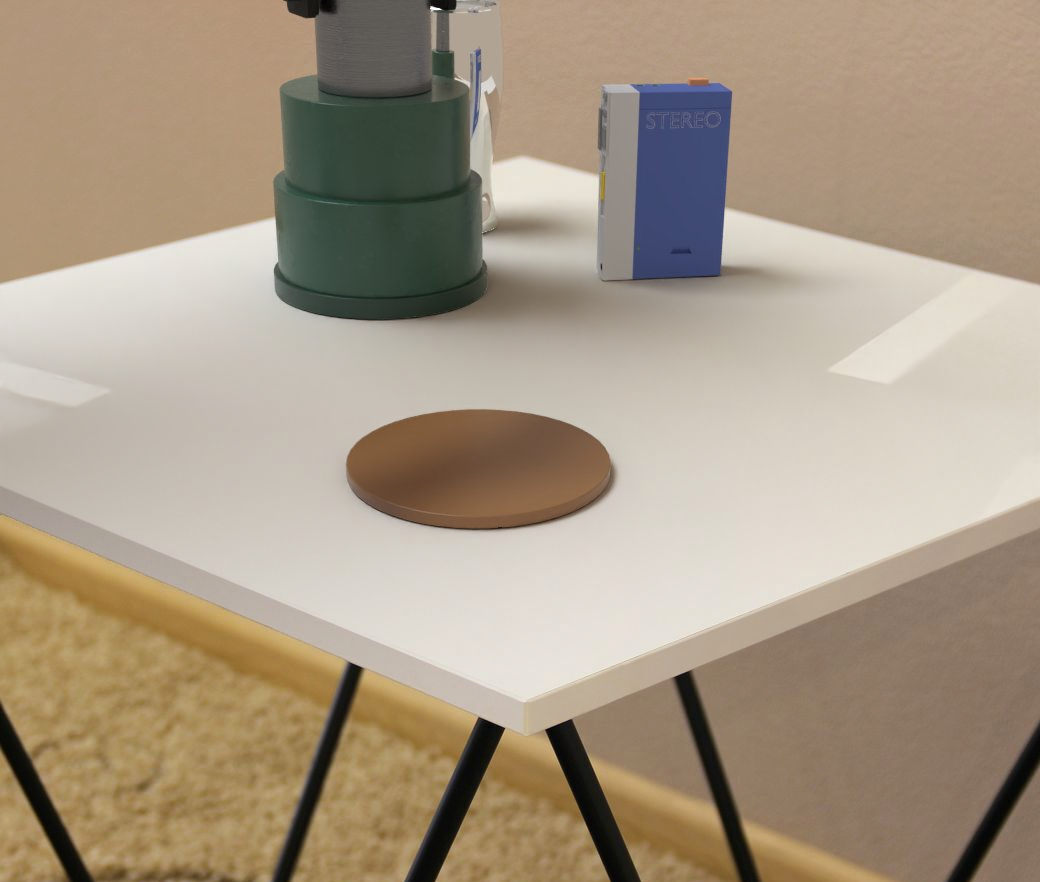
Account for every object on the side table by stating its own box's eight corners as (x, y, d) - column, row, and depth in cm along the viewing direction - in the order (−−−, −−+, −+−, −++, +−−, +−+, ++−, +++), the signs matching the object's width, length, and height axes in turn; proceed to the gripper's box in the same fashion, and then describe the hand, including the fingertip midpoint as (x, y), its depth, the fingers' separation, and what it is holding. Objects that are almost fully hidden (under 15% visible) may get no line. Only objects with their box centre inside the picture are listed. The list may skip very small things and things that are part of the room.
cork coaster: (291, 487, 67) (290, 475, 67) (443, 402, 77) (443, 391, 77) (523, 554, 62) (523, 541, 62) (655, 453, 72) (656, 442, 72)
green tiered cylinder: (229, 294, 92) (213, 91, 86) (360, 244, 102) (353, 60, 97) (407, 334, 86) (401, 119, 81) (526, 276, 96) (528, 83, 91)
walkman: (708, 263, 100) (719, 76, 95) (720, 276, 98) (733, 85, 92) (591, 268, 98) (596, 78, 93) (600, 280, 96) (606, 86, 91)
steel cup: (294, 89, 88) (285, -78, 84) (363, 73, 93) (357, -85, 89) (388, 102, 85) (382, -69, 81) (454, 85, 90) (452, -77, 86)
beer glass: (448, 207, 111) (445, -8, 105) (523, 224, 108) (525, 2, 101) (383, 226, 106) (376, 1, 100) (459, 244, 102) (457, 12, 96)
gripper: (476, -328, 86) (478, -4, 94) (174, -346, 78) (202, 10, 86) (541, -333, 81) (537, 12, 88) (222, -353, 72) (248, 29, 80)
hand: (372, 9), depth 87 cm, fingers open, 7 cm apart
